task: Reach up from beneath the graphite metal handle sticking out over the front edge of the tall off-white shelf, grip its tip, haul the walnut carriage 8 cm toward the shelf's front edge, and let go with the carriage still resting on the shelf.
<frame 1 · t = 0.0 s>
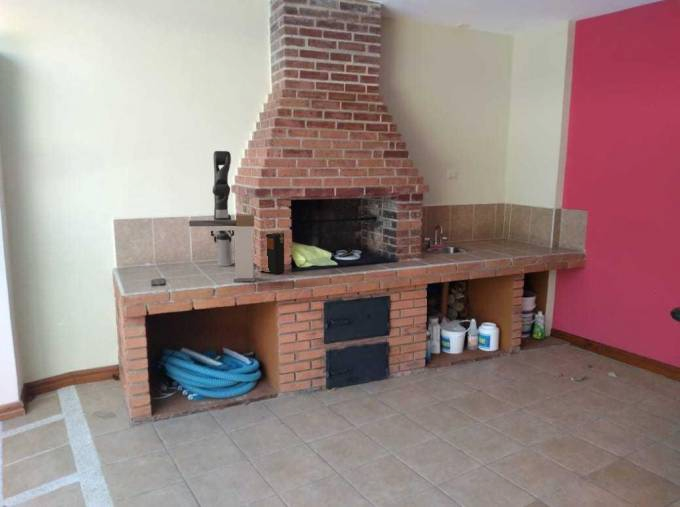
hand: (222, 242, 339), 17 cm above the counter, tool pointing down, fingers open, 8 cm apart
shelf stand: (234, 280, 315), on the counter
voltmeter: (271, 272, 336), on the counter
carriage: (232, 225, 309), point 32 cm above the counter, touching shelf stand
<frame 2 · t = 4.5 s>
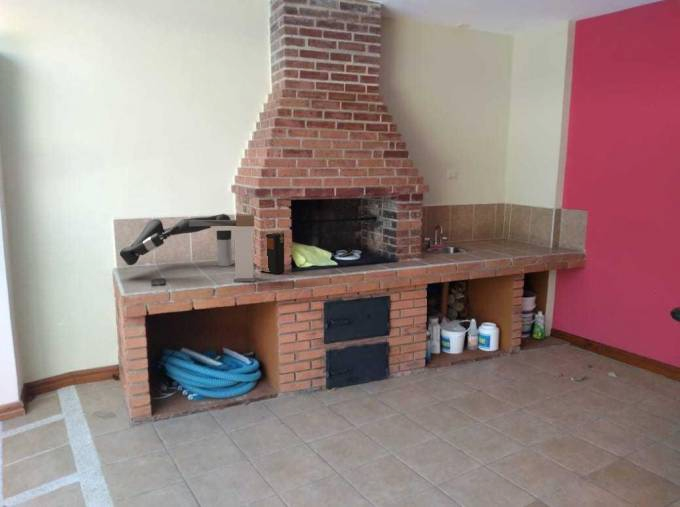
hand: (177, 228, 317), 29 cm above the counter, tool pointing upward, fingers open, 8 cm apart
nothing on the counter moved.
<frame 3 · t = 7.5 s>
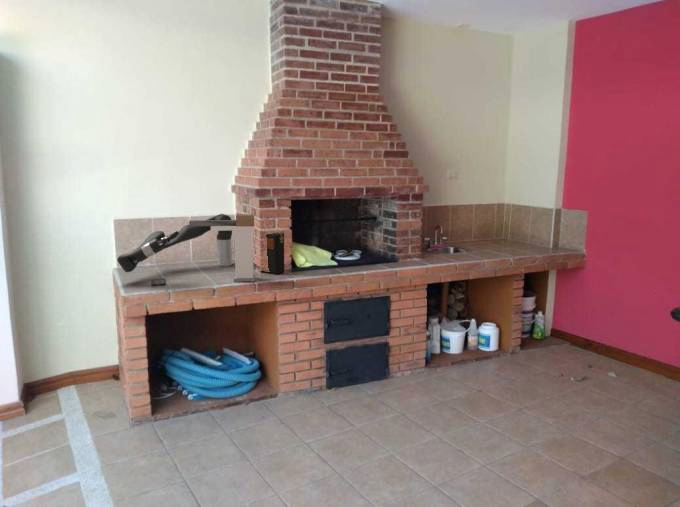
hand: (177, 233, 306), 28 cm above the counter, tool pointing upward, fingers open, 8 cm apart
nothing on the counter moved.
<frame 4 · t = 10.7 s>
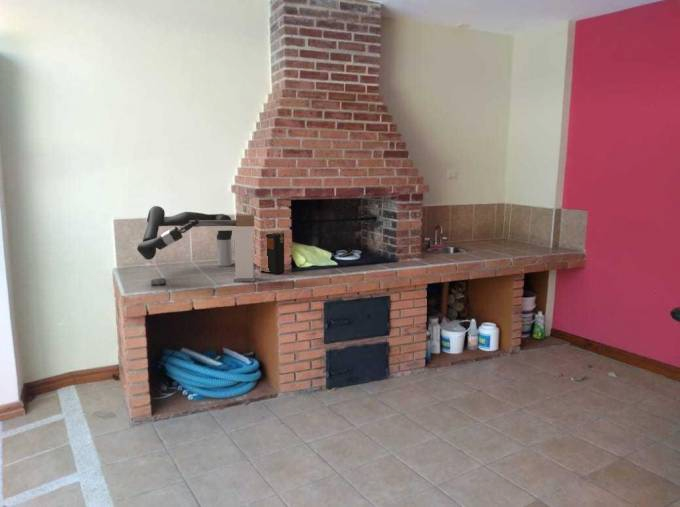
hand: (198, 220, 306), 35 cm above the counter, tool pointing upward, fingers closed on carriage, 3 cm apart
carriage: (232, 225, 309), point 32 cm above the counter, touching gripper, shelf stand
everything else where it was.
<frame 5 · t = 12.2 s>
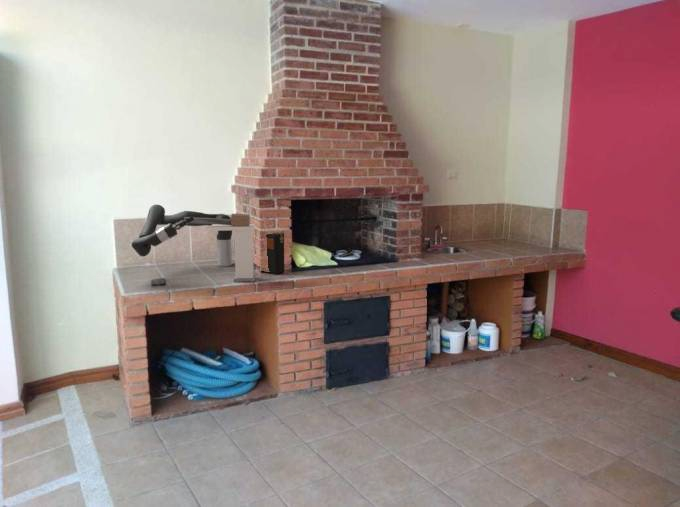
hand: (193, 217, 305), 37 cm above the counter, tool pointing upward, fingers closed on carriage, 3 cm apart
carriage: (227, 224, 308), point 33 cm above the counter, touching gripper
everything else where it was.
when the fingers open (36 cm above the counter, at t = 14.1 s): carriage stays where it is, resting on shelf stand.
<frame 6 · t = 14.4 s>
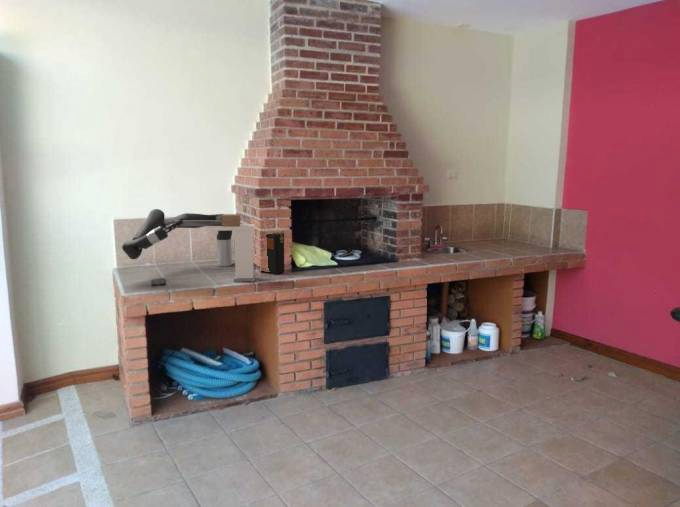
hand: (183, 220, 305), 35 cm above the counter, tool pointing upward, fingers open, 6 cm apart
carriage: (218, 225, 308), point 32 cm above the counter, touching shelf stand
everything else where it was.
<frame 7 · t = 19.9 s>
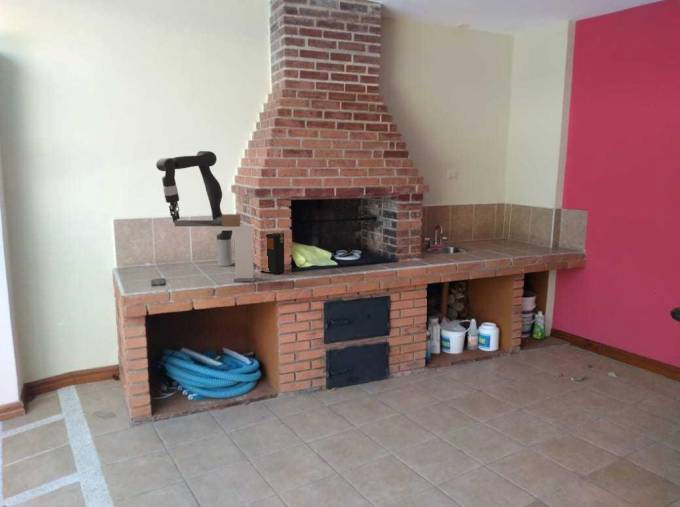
hand: (176, 220, 315), 33 cm above the counter, tool pointing down, fingers open, 8 cm apart
nothing on the counter moved.
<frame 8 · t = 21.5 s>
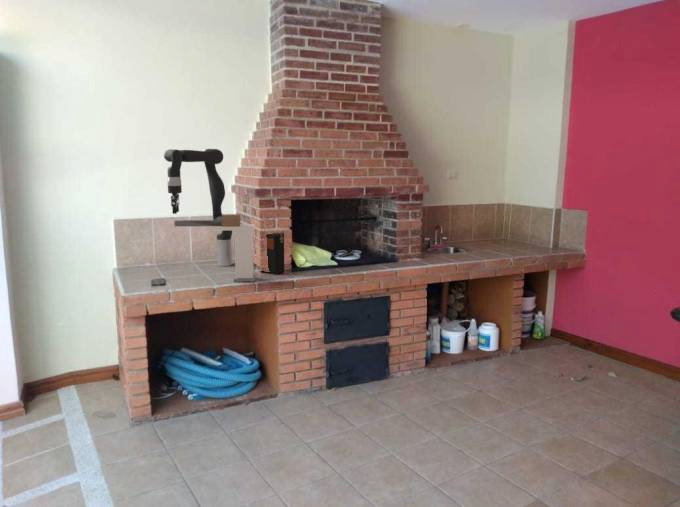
hand: (175, 212, 315), 38 cm above the counter, tool pointing down, fingers open, 8 cm apart
nothing on the counter moved.
at the end: carriage inside the target area (0.3 cm from its centre), point 32.0 cm above the counter; carriage tilted 0°; the gripper is holding nothing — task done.
